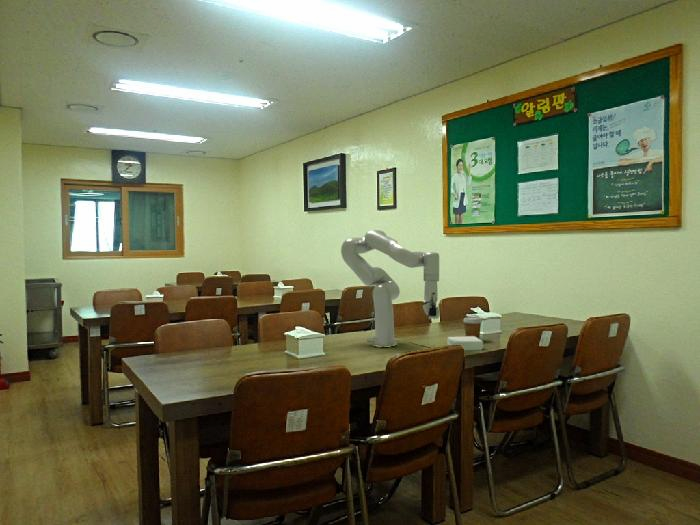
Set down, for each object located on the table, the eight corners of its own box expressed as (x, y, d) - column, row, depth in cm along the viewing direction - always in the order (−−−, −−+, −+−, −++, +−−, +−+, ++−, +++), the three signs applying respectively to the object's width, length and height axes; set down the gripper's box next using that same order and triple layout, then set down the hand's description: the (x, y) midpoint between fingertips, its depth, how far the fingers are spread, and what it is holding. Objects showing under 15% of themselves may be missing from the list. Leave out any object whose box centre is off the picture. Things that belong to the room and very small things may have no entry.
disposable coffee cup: (484, 342, 270) (483, 319, 270) (465, 343, 271) (464, 319, 270) (480, 339, 280) (479, 316, 279) (461, 339, 280) (461, 317, 280)
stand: (453, 350, 253) (453, 341, 253) (447, 345, 267) (447, 336, 267) (483, 349, 253) (482, 341, 253) (475, 344, 267) (474, 335, 267)
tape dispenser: (432, 321, 260) (419, 305, 261) (443, 312, 259) (430, 297, 260) (432, 323, 254) (419, 307, 255) (443, 314, 253) (429, 298, 254)
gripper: (420, 276, 265) (420, 312, 266) (426, 279, 247) (426, 317, 248) (435, 276, 265) (435, 312, 266) (442, 279, 248) (442, 317, 249)
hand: (431, 314), depth 257 cm, fingers closed on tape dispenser, 6 cm apart
